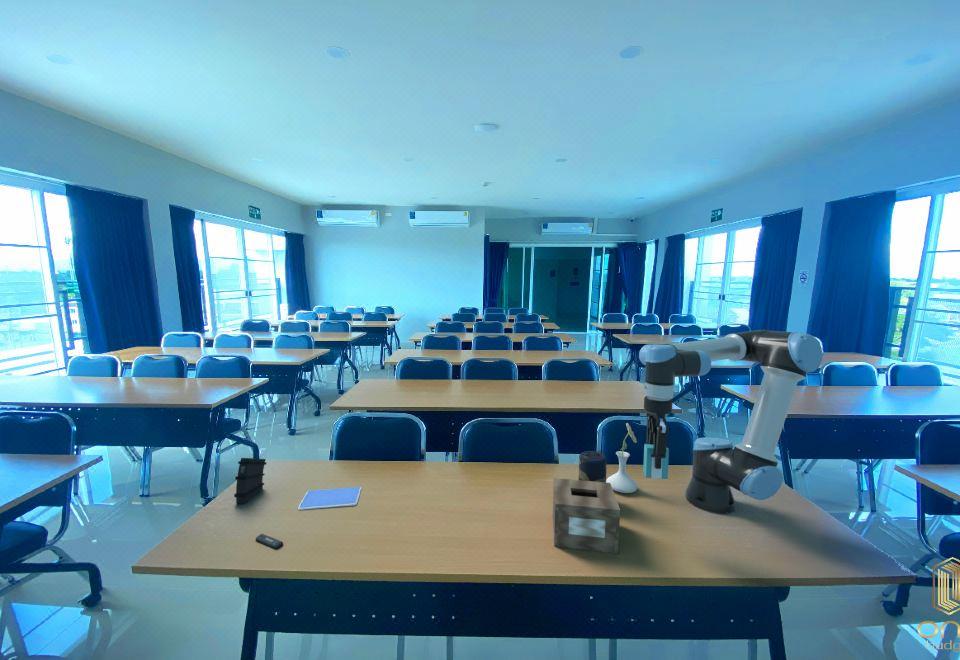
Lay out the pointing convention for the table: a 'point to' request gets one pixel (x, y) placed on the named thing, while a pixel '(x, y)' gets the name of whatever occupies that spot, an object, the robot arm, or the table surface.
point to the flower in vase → (623, 470)
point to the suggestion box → (585, 515)
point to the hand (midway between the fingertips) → (654, 474)
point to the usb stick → (269, 541)
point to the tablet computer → (330, 498)
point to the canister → (592, 466)
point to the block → (648, 462)
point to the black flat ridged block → (249, 479)
